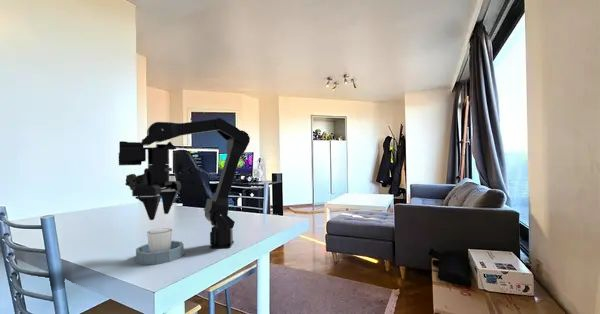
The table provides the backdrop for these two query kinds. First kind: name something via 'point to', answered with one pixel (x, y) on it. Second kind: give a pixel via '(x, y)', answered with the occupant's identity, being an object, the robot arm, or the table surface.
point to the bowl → (159, 254)
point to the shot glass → (159, 240)
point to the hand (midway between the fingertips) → (159, 216)
